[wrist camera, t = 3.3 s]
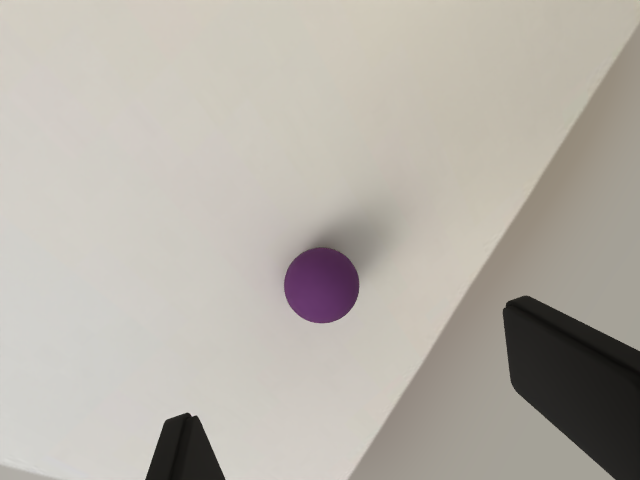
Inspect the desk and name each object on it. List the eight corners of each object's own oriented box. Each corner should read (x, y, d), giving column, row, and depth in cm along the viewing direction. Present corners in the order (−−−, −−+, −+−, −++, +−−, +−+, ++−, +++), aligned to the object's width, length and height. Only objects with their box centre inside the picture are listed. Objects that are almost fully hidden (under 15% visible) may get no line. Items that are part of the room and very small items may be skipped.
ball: (339, 231, 20) (359, 249, 16) (354, 292, 21) (376, 322, 17) (273, 251, 20) (277, 274, 16) (292, 312, 21) (300, 348, 17)
